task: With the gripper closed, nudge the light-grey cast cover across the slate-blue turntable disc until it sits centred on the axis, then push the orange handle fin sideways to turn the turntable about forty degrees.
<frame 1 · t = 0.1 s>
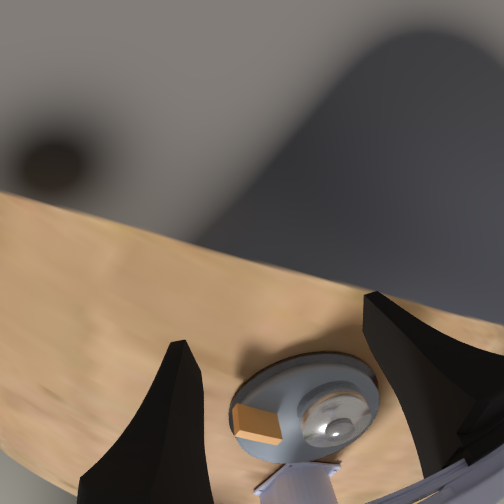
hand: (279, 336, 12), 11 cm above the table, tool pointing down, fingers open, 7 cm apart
turntable base: (305, 410, 28), on the table
cover: (329, 404, 26), point 2 cm above the table, touching turntable
turntable: (308, 431, 26), point 3 cm above the table, hinge at 0.0°, touching cover
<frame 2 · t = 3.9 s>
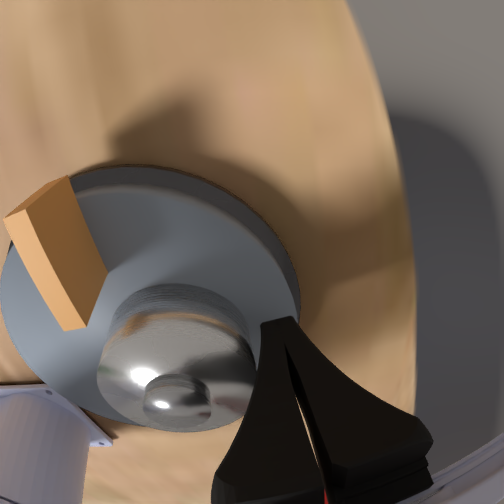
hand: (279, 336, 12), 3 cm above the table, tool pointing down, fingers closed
turntable base: (144, 319, 15), on the table
cover: (179, 341, 13), point 2 cm above the table, touching gripper
turntable: (131, 357, 12), point 3 cm above the table, hinge at 0.0°
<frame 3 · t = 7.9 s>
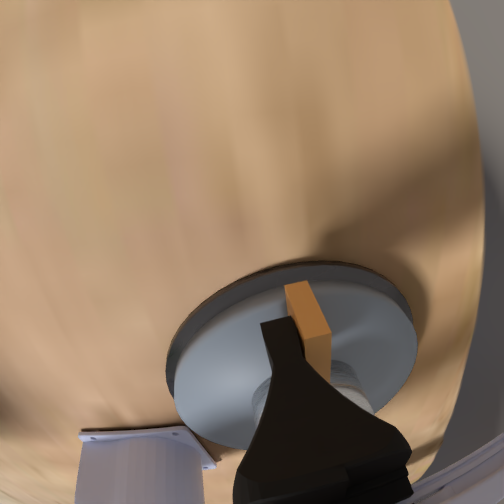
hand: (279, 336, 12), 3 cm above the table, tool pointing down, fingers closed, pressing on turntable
turntable base: (295, 370, 18), on the table
cover: (305, 395, 16), point 2 cm above the table, touching turntable
turntable: (307, 404, 15), point 3 cm above the table, hinge at -2.5°, touching cover, gripper
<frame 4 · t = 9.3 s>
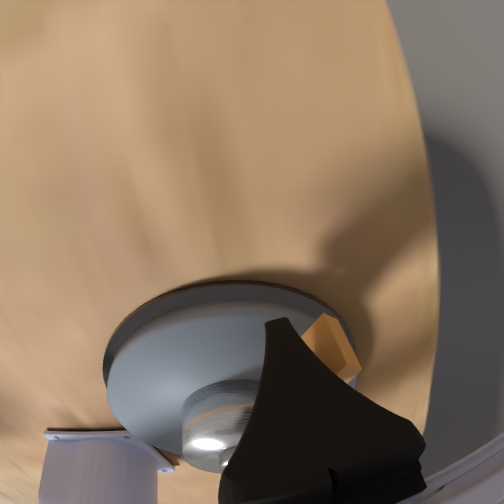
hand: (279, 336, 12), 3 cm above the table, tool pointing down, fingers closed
turntable base: (231, 384, 18), on the table
cover: (236, 411, 16), point 2 cm above the table, touching turntable
turntable: (240, 421, 15), point 3 cm above the table, hinge at -44.9°, touching cover, gripper
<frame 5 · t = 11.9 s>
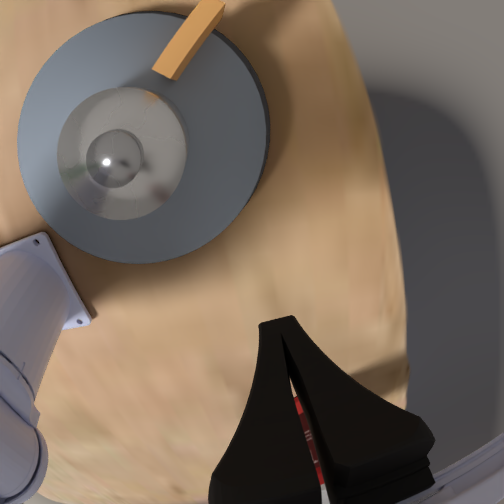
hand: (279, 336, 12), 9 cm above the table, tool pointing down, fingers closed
turntable base: (136, 138, 17), on the table
canned food: (316, 403, 32), on the table
cover: (131, 144, 15), point 2 cm above the table, touching turntable
turntable: (129, 140, 14), point 3 cm above the table, hinge at -45.5°, touching cover
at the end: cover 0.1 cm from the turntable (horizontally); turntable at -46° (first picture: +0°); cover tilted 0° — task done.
